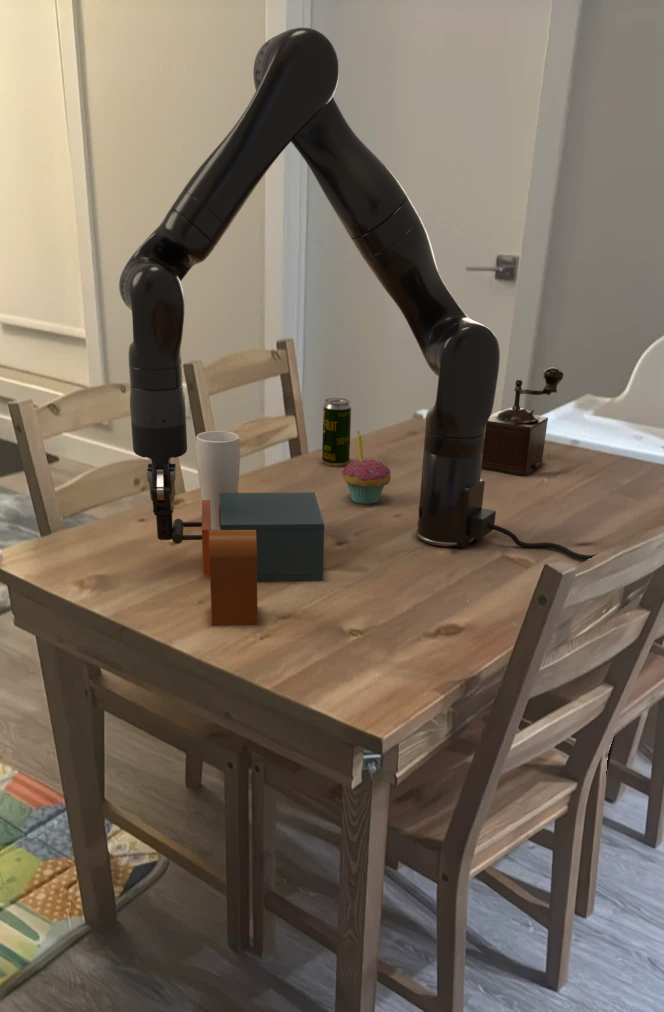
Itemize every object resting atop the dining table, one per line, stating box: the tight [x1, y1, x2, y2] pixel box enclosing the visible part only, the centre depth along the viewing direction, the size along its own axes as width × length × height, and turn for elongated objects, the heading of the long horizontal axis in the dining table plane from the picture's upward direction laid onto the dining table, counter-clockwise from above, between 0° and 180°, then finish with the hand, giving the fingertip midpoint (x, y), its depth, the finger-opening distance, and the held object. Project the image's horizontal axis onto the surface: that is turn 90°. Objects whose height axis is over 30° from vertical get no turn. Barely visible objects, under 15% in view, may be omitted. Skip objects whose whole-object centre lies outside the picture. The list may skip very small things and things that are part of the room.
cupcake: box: [341, 429, 392, 505], centre depth 173 cm, size 9×8×12 cm
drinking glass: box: [195, 430, 241, 530], centre depth 157 cm, size 7×7×15 cm
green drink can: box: [321, 397, 352, 468], centre depth 192 cm, size 5×5×12 cm
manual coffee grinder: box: [481, 366, 564, 477], centre depth 194 cm, size 16×11×18 cm
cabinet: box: [220, 491, 325, 582], centre depth 147 cm, size 15×14×9 cm
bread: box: [209, 530, 259, 626], centre depth 129 cm, size 6×5×12 cm
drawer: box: [171, 500, 221, 576], centre depth 146 cm, size 18×13×7 cm
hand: (165, 537), depth 145 cm, fingers closed
